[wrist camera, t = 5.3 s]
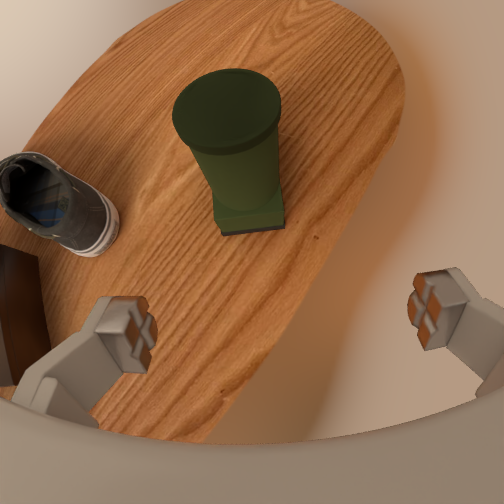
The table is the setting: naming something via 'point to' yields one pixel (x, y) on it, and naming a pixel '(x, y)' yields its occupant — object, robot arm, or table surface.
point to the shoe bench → (20, 315)
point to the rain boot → (235, 146)
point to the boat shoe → (57, 204)
